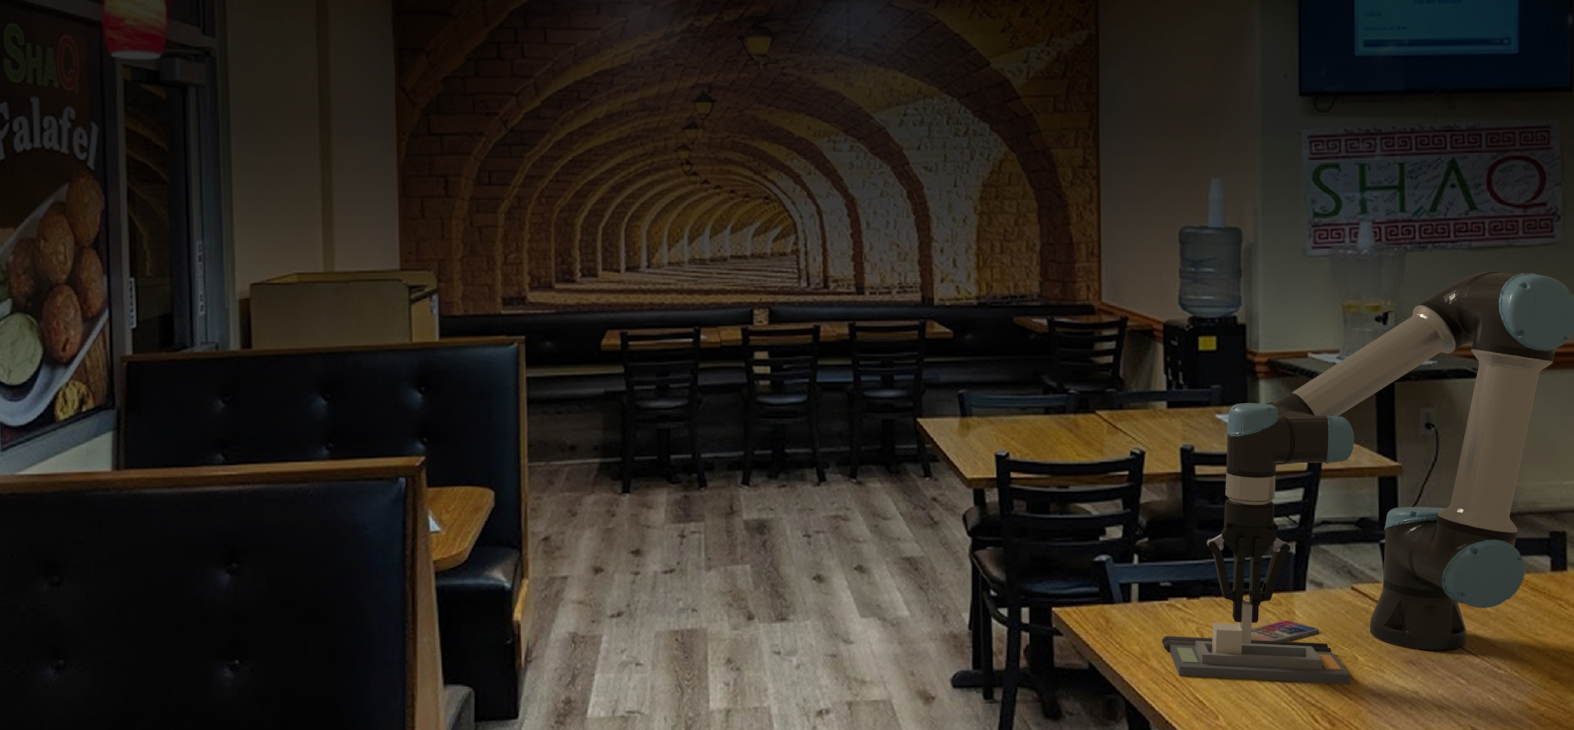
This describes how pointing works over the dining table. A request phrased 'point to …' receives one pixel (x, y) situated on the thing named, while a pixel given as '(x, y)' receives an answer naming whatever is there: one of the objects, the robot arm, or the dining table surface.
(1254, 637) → the smartphone
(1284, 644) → the dark grey rod
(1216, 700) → the dining table surface
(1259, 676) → the panel
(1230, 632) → the block
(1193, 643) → the cord
